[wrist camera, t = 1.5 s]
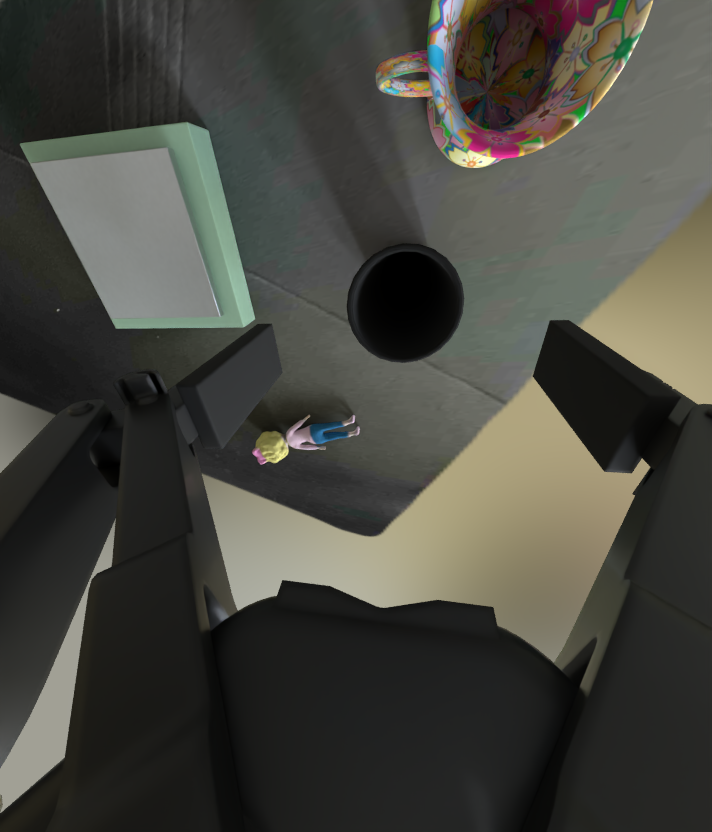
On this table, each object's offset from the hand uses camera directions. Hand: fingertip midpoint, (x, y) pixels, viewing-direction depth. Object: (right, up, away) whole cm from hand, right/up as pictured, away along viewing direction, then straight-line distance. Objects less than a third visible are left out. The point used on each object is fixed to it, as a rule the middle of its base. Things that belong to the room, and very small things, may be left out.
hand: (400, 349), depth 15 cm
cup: (+3, +11, +15) cm, 19 cm away
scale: (-22, +15, +16) cm, 31 cm away
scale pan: (-23, +13, +13) cm, 29 cm away
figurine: (-9, -5, +28) cm, 30 cm away
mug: (+6, +20, +7) cm, 23 cm away
